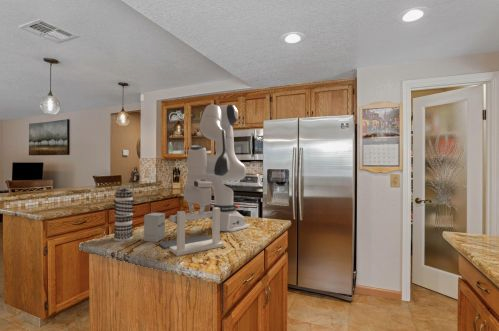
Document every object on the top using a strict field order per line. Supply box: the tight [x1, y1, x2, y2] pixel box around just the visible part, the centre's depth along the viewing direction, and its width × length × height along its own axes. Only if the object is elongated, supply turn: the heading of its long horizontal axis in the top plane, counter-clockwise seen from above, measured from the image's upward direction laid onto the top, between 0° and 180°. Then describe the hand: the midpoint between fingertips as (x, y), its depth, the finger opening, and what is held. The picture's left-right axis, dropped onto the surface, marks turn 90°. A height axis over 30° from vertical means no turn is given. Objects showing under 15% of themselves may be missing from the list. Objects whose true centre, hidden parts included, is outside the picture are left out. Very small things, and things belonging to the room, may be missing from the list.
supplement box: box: [143, 212, 166, 243], centre depth 130 cm, size 7×7×13 cm
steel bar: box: [169, 210, 221, 223], centre depth 119 cm, size 24×2×2 cm, turn 128°
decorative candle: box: [113, 187, 135, 242], centre depth 131 cm, size 9×9×25 cm
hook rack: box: [169, 207, 224, 257], centre depth 118 cm, size 22×8×18 cm, turn 128°
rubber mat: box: [158, 234, 212, 250], centre depth 127 cm, size 24×8×1 cm, turn 128°
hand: (196, 213), depth 118 cm, fingers open, 8 cm apart
